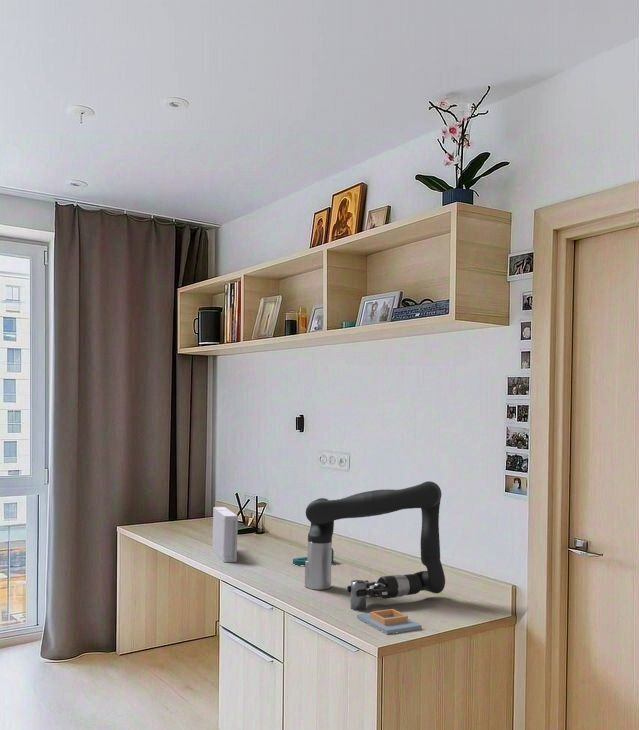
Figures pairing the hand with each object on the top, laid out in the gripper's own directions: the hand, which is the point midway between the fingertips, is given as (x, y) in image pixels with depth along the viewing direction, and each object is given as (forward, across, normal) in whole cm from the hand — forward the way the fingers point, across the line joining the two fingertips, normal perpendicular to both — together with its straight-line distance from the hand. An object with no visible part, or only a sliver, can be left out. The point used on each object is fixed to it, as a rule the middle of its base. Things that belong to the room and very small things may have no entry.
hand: (352, 591), depth 250 cm
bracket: (-19, -68, +6) cm, 71 cm away
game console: (+11, -96, +6) cm, 97 cm away
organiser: (-3, +19, +6) cm, 20 cm away
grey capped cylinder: (-3, 0, +6) cm, 7 cm away
